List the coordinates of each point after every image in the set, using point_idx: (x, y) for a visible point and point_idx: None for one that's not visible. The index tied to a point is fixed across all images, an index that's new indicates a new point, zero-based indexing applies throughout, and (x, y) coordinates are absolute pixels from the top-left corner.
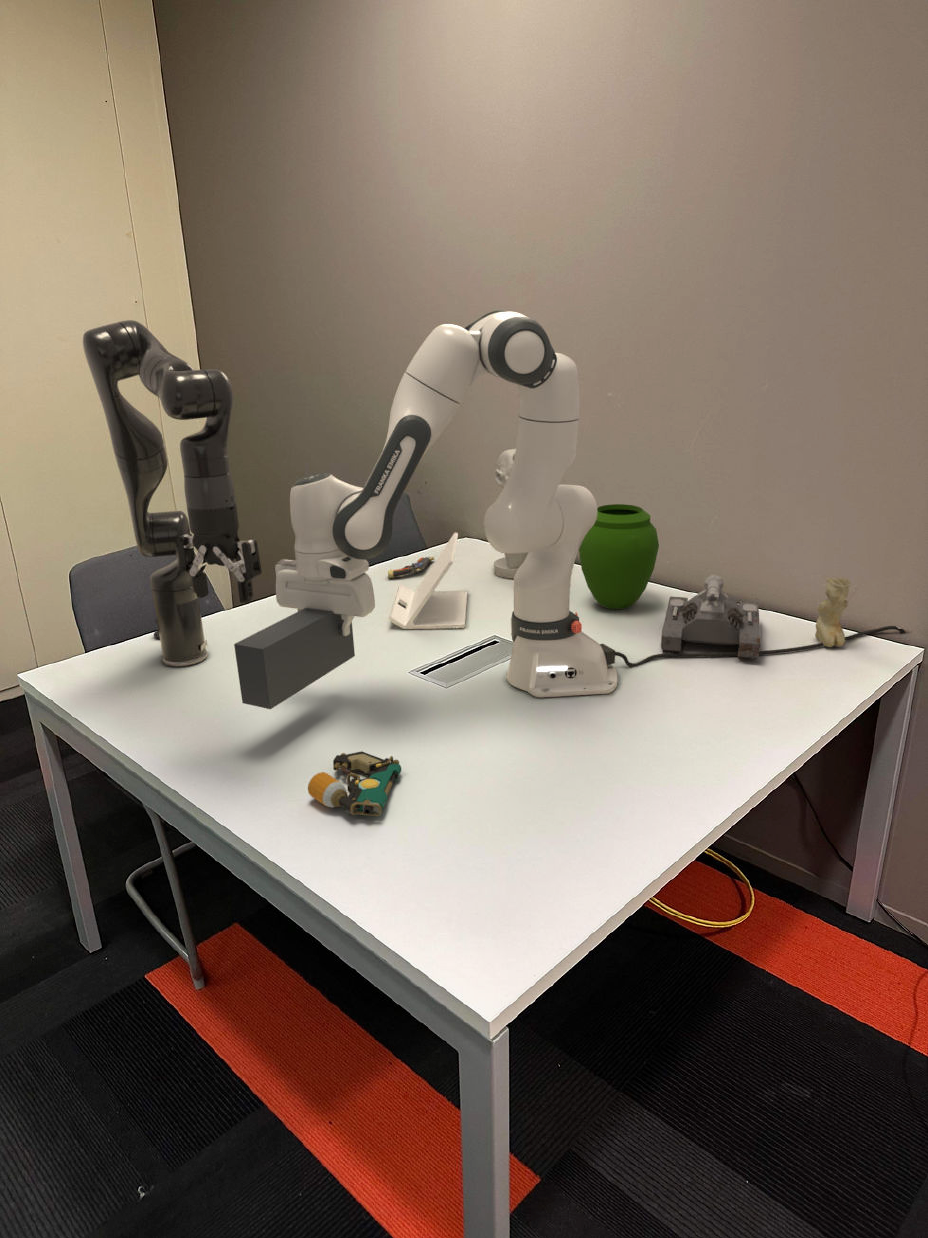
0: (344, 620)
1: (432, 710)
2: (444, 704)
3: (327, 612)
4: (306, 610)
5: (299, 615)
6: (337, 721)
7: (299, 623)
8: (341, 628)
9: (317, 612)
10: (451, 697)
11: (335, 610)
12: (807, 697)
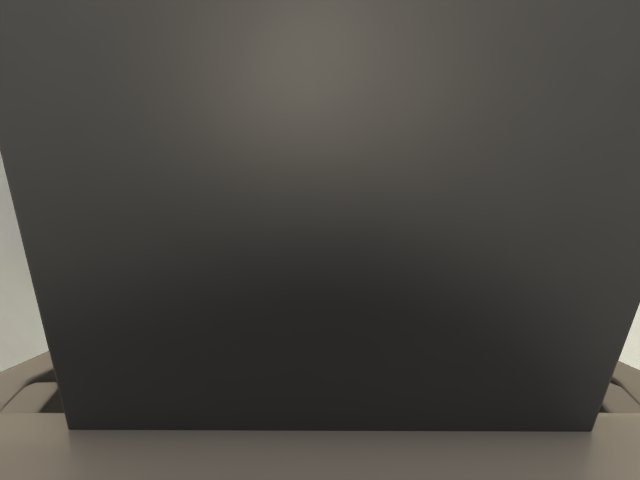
0: (32, 375)
1: (13, 245)
2: (11, 289)
3: (113, 372)
4: (518, 345)
5: (530, 64)
6: None
7: None
8: None
9: (271, 324)
10: (26, 331)
11: (6, 446)
12: None
